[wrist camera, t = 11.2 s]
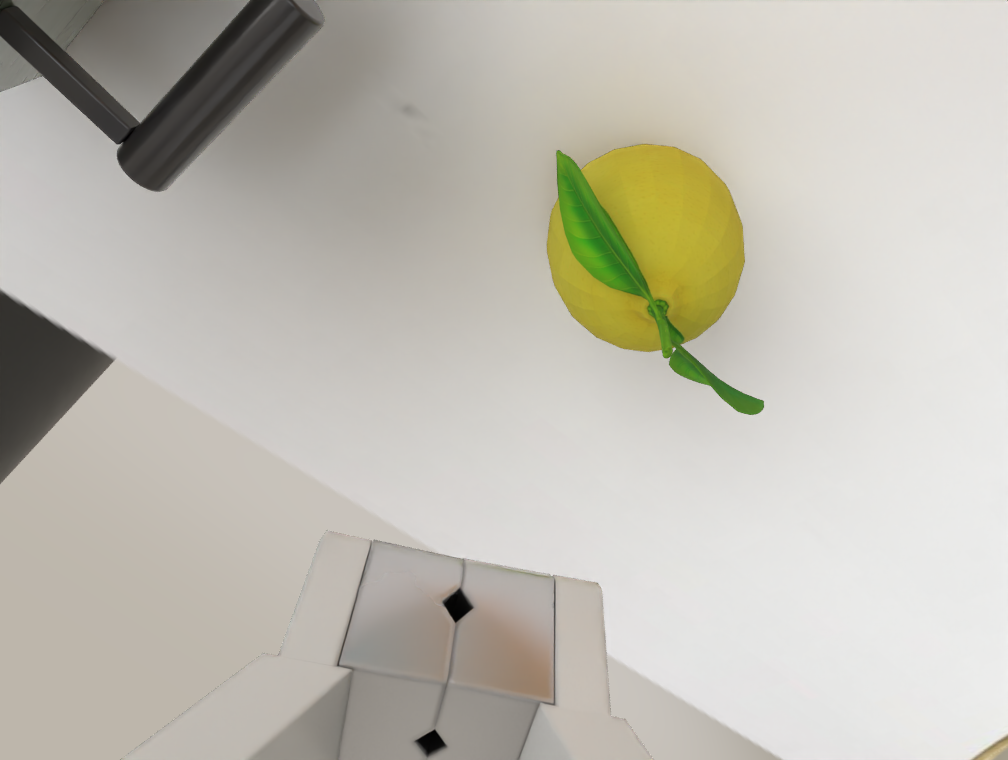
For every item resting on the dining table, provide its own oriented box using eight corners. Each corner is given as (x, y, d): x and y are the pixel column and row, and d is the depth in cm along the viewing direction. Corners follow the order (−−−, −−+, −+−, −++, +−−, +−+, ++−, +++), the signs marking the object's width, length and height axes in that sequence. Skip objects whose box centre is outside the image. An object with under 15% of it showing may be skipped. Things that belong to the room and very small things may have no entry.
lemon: (719, 294, 28) (793, 476, 19) (550, 299, 28) (548, 478, 20) (738, 94, 24) (839, 206, 16) (544, 102, 24) (540, 217, 16)
